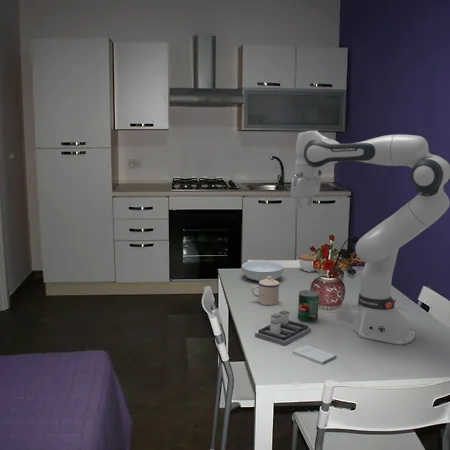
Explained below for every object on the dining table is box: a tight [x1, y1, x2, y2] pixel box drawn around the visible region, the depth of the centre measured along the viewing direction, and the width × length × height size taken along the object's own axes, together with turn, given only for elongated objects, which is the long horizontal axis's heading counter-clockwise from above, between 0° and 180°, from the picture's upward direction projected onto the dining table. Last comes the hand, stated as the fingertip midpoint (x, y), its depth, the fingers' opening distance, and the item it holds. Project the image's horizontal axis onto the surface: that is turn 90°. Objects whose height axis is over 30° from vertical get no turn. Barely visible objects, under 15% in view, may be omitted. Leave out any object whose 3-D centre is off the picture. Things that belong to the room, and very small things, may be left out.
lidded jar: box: [298, 252, 316, 273], centre depth 300 cm, size 11×11×9 cm
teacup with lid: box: [251, 276, 281, 306], centre depth 247 cm, size 12×9×12 cm
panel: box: [254, 320, 312, 347], centre depth 211 cm, size 13×18×2 cm
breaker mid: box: [270, 313, 281, 327], centre depth 213 cm, size 2×3×5 cm
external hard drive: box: [292, 344, 338, 366], centre depth 193 cm, size 2×8×12 cm
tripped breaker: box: [269, 320, 281, 335], centre depth 207 cm, size 2×3×5 cm
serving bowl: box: [241, 260, 285, 282], centre depth 283 cm, size 21×21×7 cm
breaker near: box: [278, 309, 290, 324], centre depth 217 cm, size 2×3×5 cm
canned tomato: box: [297, 289, 320, 324], centre depth 227 cm, size 8×8×11 cm
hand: (304, 206), depth 225 cm, fingers open, 8 cm apart
